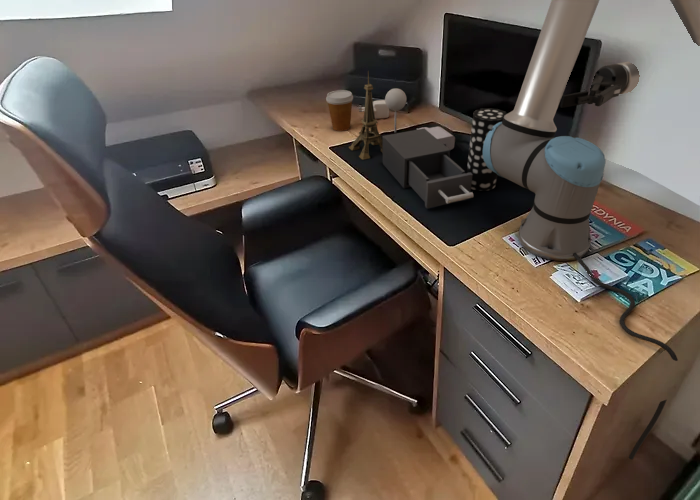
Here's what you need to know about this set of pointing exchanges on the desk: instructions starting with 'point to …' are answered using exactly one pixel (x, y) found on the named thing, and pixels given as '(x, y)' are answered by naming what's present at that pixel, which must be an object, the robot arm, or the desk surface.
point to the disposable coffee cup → (340, 108)
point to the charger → (442, 136)
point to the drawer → (439, 180)
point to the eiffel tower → (368, 122)
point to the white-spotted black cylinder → (476, 165)
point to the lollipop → (395, 101)
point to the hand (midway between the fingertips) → (543, 92)
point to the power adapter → (379, 109)
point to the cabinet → (409, 151)
